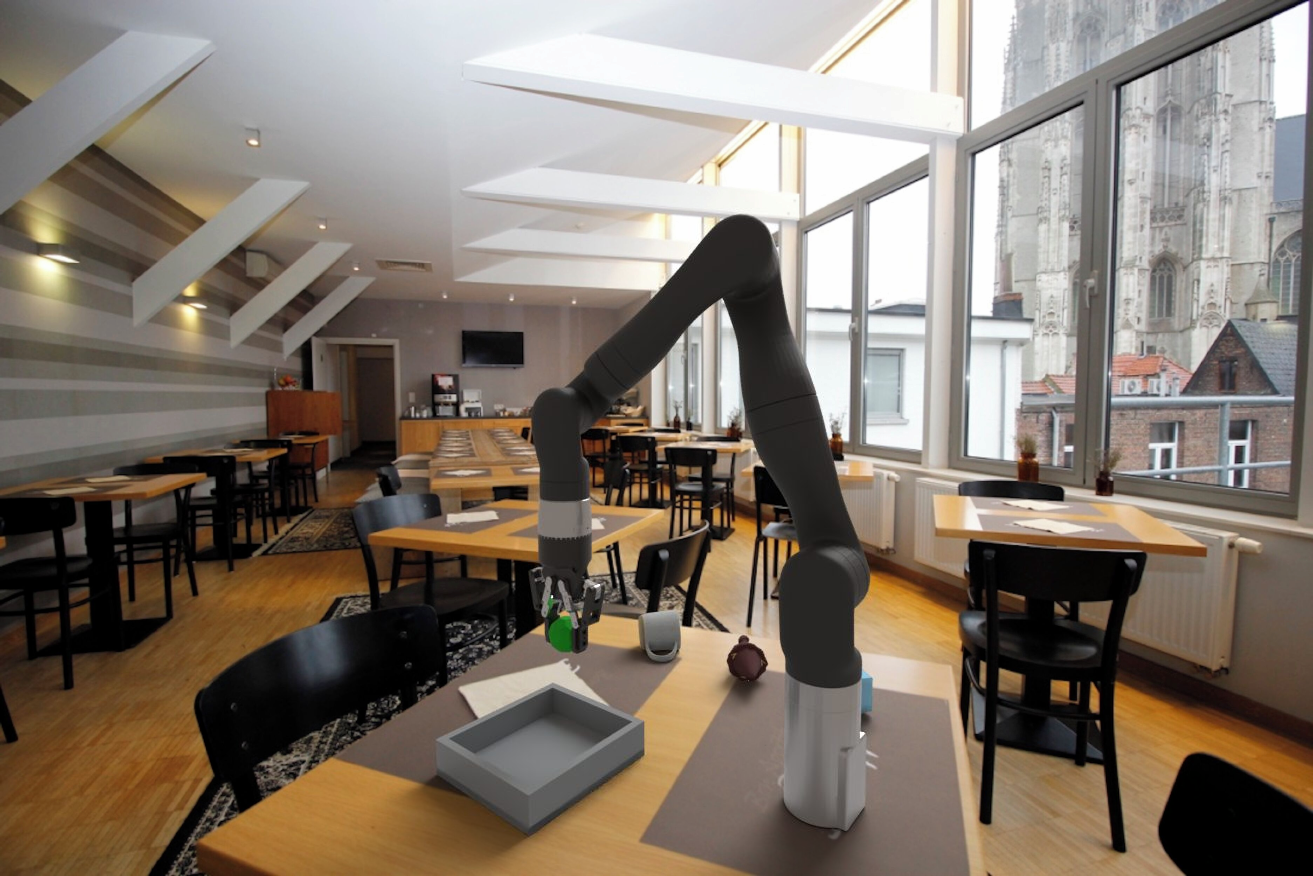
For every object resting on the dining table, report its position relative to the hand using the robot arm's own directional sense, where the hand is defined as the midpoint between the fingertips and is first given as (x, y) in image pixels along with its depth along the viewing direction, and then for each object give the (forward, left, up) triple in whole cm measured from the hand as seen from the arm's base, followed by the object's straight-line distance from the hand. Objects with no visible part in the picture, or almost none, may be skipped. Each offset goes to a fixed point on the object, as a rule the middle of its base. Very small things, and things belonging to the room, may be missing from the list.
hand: (565, 645), depth 90 cm
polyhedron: (0, 0, -1) cm, 1 cm away
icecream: (-9, -36, -16) cm, 40 cm away
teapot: (-26, -38, -16) cm, 48 cm away
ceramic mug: (+11, -36, -16) cm, 41 cm away
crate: (0, +4, -16) cm, 16 cm away
